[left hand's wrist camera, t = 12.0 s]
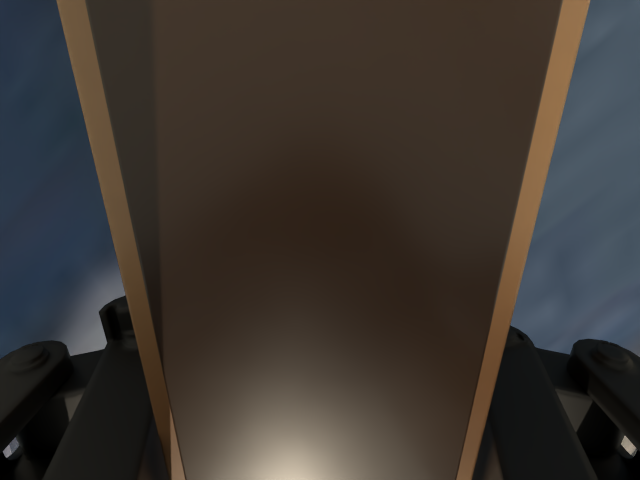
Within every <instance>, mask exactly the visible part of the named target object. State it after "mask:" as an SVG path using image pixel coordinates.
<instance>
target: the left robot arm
mask: <svg viewBox="0 0 640 480" xmlns="http://www.w3.org/2000/svg"><path fill="white" fill-rule="evenodd" d="M99 315H100V318H101V322H102V325H103V329H104V332H105V336H106V340H107V345H106V347H105V349H102V350H99V351H94V352H89V353H84V354H79V355H74V356H70V355H69V352H68V349H67V346H66V345H65V344H64V343H62V342H60V341H52V340H51V341H42V342H36V343H32V344H28V345H25V346H23V347H21V348H19V349H17V350H15V351H13V352H11V353H9V354H7V355H6V356H4V357H3V358H1V359H0V480H169V477H168V473H167V469H166V464H165V460H164V456H163V452H162V447H161V443H160V439H159V435H158V430H157V426H156V422H155V418H154V413H153V409H152V405H151V401H150V396H149V392H148V388H147V384H146V379H145V375H144V371H143V367H142V362H141V358H140V354H139V350H138V345H137V341H136V337H135V333H134V328H133V324H132V320H131V316H130V311H129V307H128V303H127V299H126V296H123V297H120V298H118V299H115V300H113V301H111V302H110V303H108V304H106V305H105V306H104V307H103V308H102V309H101V310H100V311H99ZM624 436H626V437H627V438H628V439H629V440H630V441H631V442H632V443H633V445H634V446H635V447H636V448H637V449H638V451H637V453H636V455H635V456H634V457H633V456H631V455H630V454H629V453H628V452H627V451H626V450H625V449H624V447H623V446H622V445H621V442H622V440H623V438H624ZM15 437H16V439H17V441H18V443H19V445H20V446H19V447H18V448H17V449H16V450H15V452H14V453H13V454H11V455H10V456H9V457H8V458H6V457H5V456H4V454H3V450H4V449H5V448H6V447H7V446H8V445H9V444H10V442H11V441H12V440H13V439H14V438H15ZM472 480H640V357H638V356H637V355H635V354H634V353H632V352H631V351H629V350H627V349H625V348H622V347H620V346H619V345H617V344H614V343H611V342H610V343H609V342H608V341H603V340H595V339H583V340H578V341H577V342H576V343H574V345H573V348H572V351H571V354H570V355H569V354H564V353H559V352H554V351H549V350H544V349H540V348H536V347H535V346H534V344H533V342H532V341H531V340H530V338H529V337H528V336H527V335H526V334H524V333H523V332H522V331H520V330H519V329H517V328H515V327H512V326H510V327H509V331H508V335H507V339H506V343H505V347H504V351H503V355H502V359H501V363H500V368H499V372H498V376H497V380H496V384H495V388H494V392H493V396H492V400H491V404H490V408H489V412H488V416H487V420H486V424H485V428H484V432H483V436H482V440H481V444H480V448H479V452H478V456H477V461H476V465H475V469H474V473H473V477H472Z"/></svg>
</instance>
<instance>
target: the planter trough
mask: <svg viewBox="0 0 640 480" xmlns="http://www.w3.org/2000/svg"><path fill="white" fill-rule="evenodd" d="M56 1H57V5H58V9H59V13H60V18H61V22H62V26H63V30H64V35H65V39H66V43H67V47H68V52H69V56H70V60H71V64H72V69H73V73H74V77H75V82H76V86H77V90H78V94H79V99H80V103H81V107H82V111H83V116H84V120H85V124H86V128H87V133H88V137H89V141H90V145H91V150H92V154H93V158H94V162H95V167H96V171H97V175H98V179H99V184H100V188H101V192H102V196H103V201H104V205H105V209H106V213H107V218H108V222H109V226H110V230H111V235H112V239H113V243H114V247H115V252H116V256H117V260H118V264H119V269H120V273H121V277H122V281H123V286H124V290H125V294H126V299H127V303H128V307H129V311H130V316H131V320H132V324H133V328H134V333H135V337H136V341H137V345H138V350H139V354H140V358H141V362H142V367H143V371H144V375H145V379H146V384H147V388H148V392H149V396H150V401H151V405H152V409H153V413H154V418H155V422H156V426H157V430H158V435H159V439H160V443H161V447H162V452H163V456H164V460H165V464H166V469H167V473H168V477H169V480H472V477H473V473H474V469H475V465H476V461H477V456H478V452H479V448H480V444H481V440H482V436H483V432H484V428H485V424H486V420H487V416H488V412H489V408H490V404H491V400H492V396H493V392H494V388H495V384H496V380H497V376H498V372H499V368H500V363H501V359H502V355H503V351H504V347H505V343H506V339H507V335H508V331H509V327H510V323H511V319H512V315H513V311H514V307H515V303H516V299H517V295H518V291H519V287H520V283H521V279H522V274H523V270H524V266H525V262H526V258H527V254H528V250H529V246H530V242H531V238H532V234H533V230H534V226H535V222H536V218H537V214H538V210H539V206H540V202H541V198H542V194H543V190H544V185H545V181H546V177H547V173H548V169H549V165H550V161H551V157H552V153H553V149H554V145H555V141H556V137H557V133H558V129H559V125H560V121H561V117H562V113H563V109H564V105H565V101H566V96H567V92H568V88H569V84H570V80H571V76H572V72H573V68H574V64H575V60H576V56H577V52H578V48H579V44H580V40H581V36H582V32H583V28H584V24H585V20H586V16H587V12H588V7H589V3H590V0H56Z"/></svg>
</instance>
